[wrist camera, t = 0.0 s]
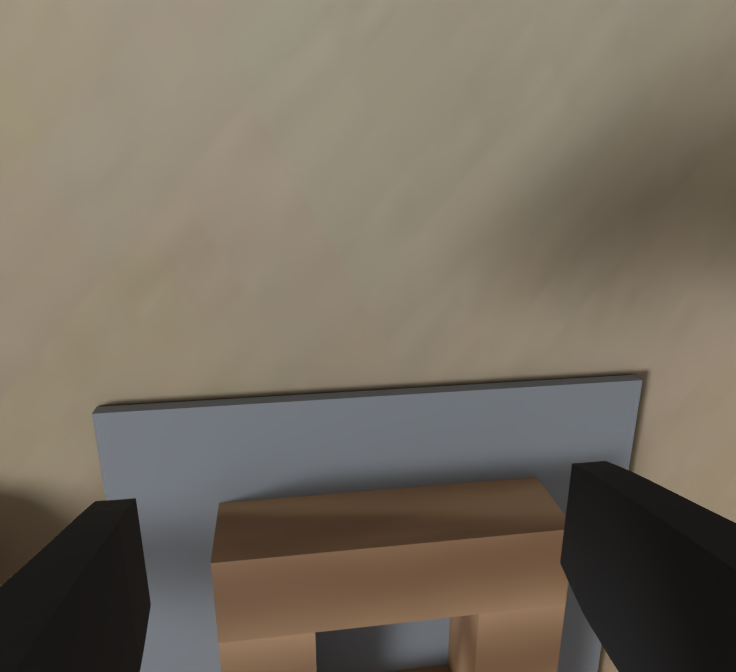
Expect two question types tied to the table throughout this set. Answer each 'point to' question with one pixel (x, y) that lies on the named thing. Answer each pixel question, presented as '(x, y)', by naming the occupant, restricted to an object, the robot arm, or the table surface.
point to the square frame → (393, 573)
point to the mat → (343, 487)
